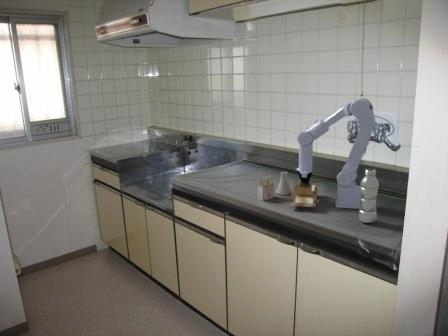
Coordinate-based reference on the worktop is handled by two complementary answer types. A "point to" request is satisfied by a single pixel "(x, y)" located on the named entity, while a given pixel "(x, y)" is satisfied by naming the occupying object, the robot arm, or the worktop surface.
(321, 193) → the worktop surface
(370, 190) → the plastic bottle
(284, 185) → the flask
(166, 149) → the worktop surface
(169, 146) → the worktop surface
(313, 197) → the small cardboard box
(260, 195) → the pink and white carton
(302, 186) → the bronze weight
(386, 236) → the worktop surface
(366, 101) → the robot arm
